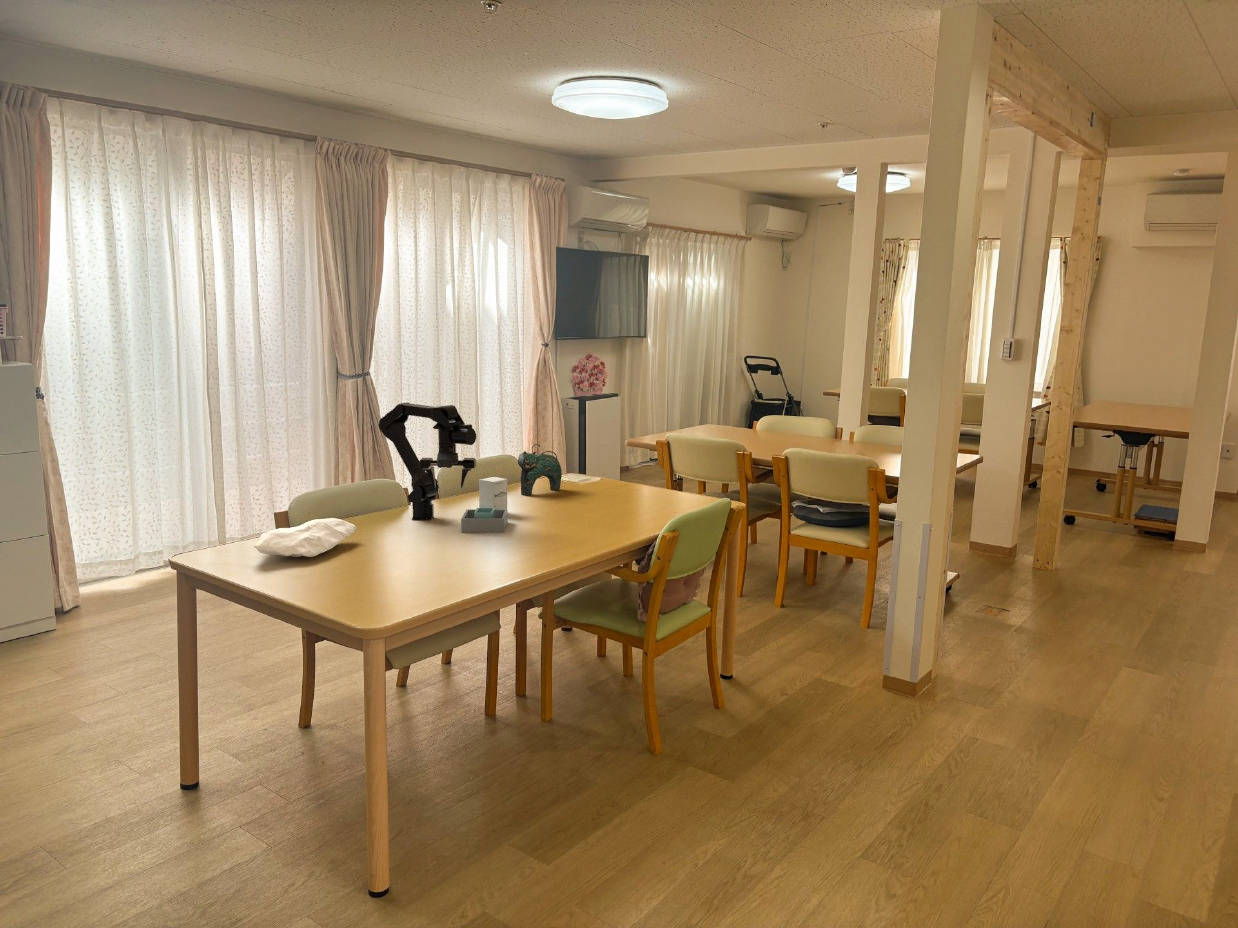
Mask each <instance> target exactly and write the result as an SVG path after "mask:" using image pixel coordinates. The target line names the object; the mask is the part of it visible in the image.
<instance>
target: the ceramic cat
mask: <svg viewBox="0 0 1238 928" xmlns="http://www.w3.org/2000/svg"><path fill="white" fill-rule="evenodd" d="M535 446H538V447H539V448H540V447H541V445H540V444H538V443H535V444H533V445H532V447H531V452H526V450H524V451H523V452H521V453H520V454H519V455H518V458H517V464H518V467H519V468H520V469H521V472H520V495H521V496H524V497H529V496H532V494H533V489H534V485H535V483H536V481H537V480H538V478H541V477H546V478H547V479H548V481H549V482H548V483H549V489H550V491H553V492H558V491H560V490H561V483H562V476H563V473H562V466H561V464H560V462H559V459H558V456H557V454H556V453H555V452H554V451H551V450H546V451H543V452H542V453H541V452H540V453H539V454H538V453H537V451H534V450H533V449H534V447H535ZM536 453H537V454H536ZM547 453H552V454H554V455H552V454H547Z"/></svg>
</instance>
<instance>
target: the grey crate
mask: <svg viewBox="0 0 1238 928" xmlns="http://www.w3.org/2000/svg"><path fill="white" fill-rule="evenodd" d="M476 509H477V508H475V509H471V508H469V509H466V510H465V511H464V513H463V515H462V517H461V519H460V523H461V524H460V528H461V533H505V531H506V529H507V524H508V520H509V519H508V508H507V509H495V518H487V519H474V513H475V511H476Z"/></svg>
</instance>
